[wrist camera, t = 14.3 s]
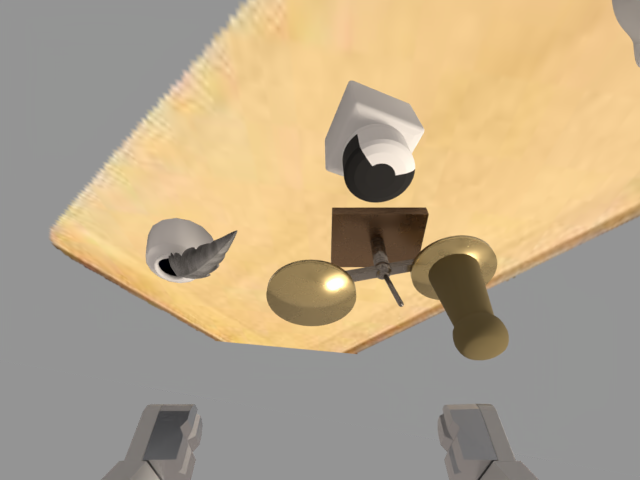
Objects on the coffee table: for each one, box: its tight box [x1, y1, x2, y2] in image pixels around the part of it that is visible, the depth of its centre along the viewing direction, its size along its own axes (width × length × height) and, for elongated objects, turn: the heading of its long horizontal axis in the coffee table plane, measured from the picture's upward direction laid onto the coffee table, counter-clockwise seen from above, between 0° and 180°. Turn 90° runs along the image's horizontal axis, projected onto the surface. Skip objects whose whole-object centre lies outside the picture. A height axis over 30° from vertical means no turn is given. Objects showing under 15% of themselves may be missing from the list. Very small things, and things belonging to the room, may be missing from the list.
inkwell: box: [146, 218, 237, 283], centre depth 45 cm, size 9×18×10 cm, turn 133°
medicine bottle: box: [325, 80, 424, 203], centre depth 35 cm, size 7×7×12 cm
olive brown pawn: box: [428, 254, 509, 360], centre depth 40 cm, size 6×6×11 cm
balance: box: [266, 207, 497, 326], centre depth 45 cm, size 27×10×12 cm, turn 90°
